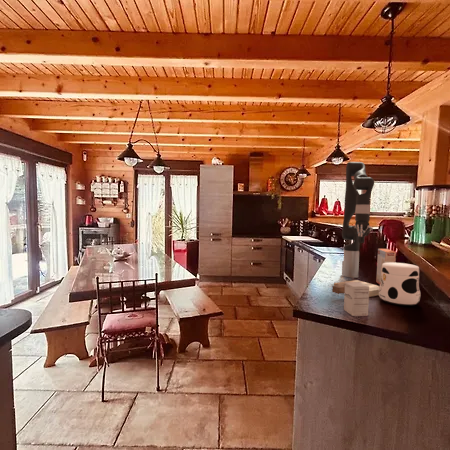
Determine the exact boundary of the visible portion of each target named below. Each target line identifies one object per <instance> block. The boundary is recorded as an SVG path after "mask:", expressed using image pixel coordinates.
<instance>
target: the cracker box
mask: <svg viewBox="0 0 450 450" xmlns="http://www.w3.org/2000/svg"><path fill="white" fill-rule="evenodd" d="M396 256H397V252H396V251H394V250H391V249H389V248H377V262H376V263H377V264H376V278H375V279H376V283H377V284H378V286H380V283H381V272H382V264H383V263H397V262H396V260H397V257H396Z"/></svg>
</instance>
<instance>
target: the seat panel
mask: <svg viewBox="0 0 450 450" xmlns="http://www.w3.org/2000/svg"><path fill="white" fill-rule="evenodd" d="M345 282H361V283H363V284H365V285H367V286H369V298H370V297H376V296H379V286H380V285H377V284H373V283H369V282H365V281H361V280H358V279H354V280H348V281H339V282H334V283H333V286H336V285H344V284H345Z"/></svg>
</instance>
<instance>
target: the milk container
mask: <svg viewBox="0 0 450 450" xmlns="http://www.w3.org/2000/svg"><path fill="white" fill-rule="evenodd" d="M378 286H379V295H378V296H379V298H380V300H382V301H384V302H385V303H388V304H391V305H396V306H405V307H410V306H415V305H418V304H419V303H420V300H421V296H422V295H421V294H422V293H421V290H420V267H419V266H418V265H415V264H410V263H405V262H395V263H383V264H382V272H381V283H380V285H378Z"/></svg>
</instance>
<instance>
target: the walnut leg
mask: <svg viewBox="0 0 450 450" xmlns="http://www.w3.org/2000/svg"><path fill="white" fill-rule="evenodd" d="M331 288H332V289H331V292H332V293H334V294H337V295H340V294H345V284H344V285H336V286H334V285H332V287H331Z"/></svg>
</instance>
